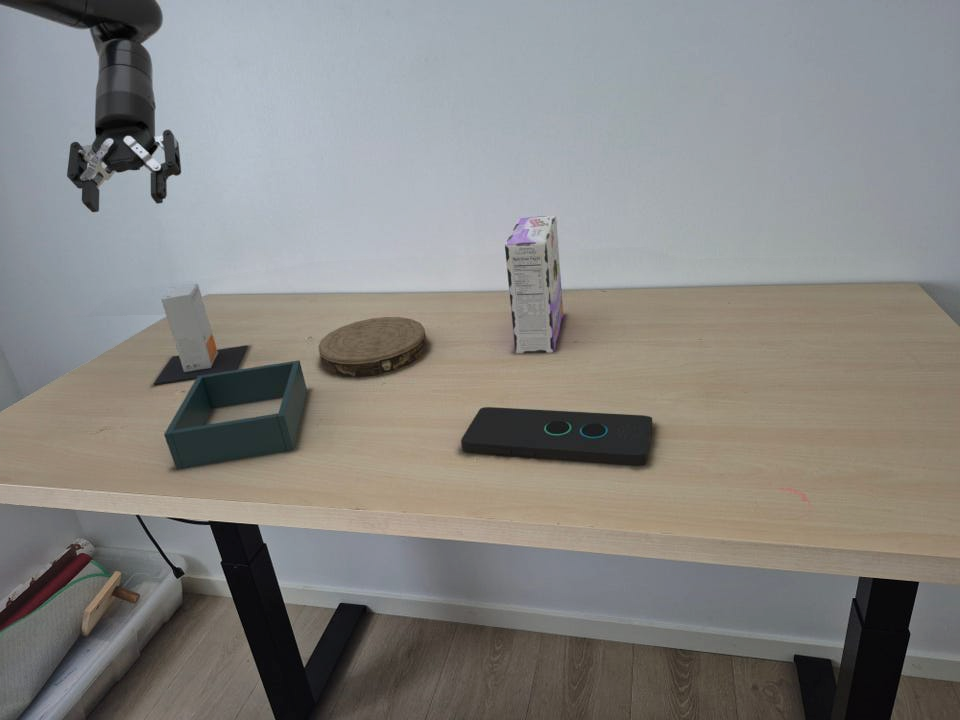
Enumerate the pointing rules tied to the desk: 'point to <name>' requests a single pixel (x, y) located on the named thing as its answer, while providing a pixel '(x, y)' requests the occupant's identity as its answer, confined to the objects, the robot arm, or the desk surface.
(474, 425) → the smart home device
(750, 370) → the desk surface
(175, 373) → the desk pad
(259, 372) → the storage box
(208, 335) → the cosmetic box
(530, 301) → the candy box
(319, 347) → the brown flat disc
